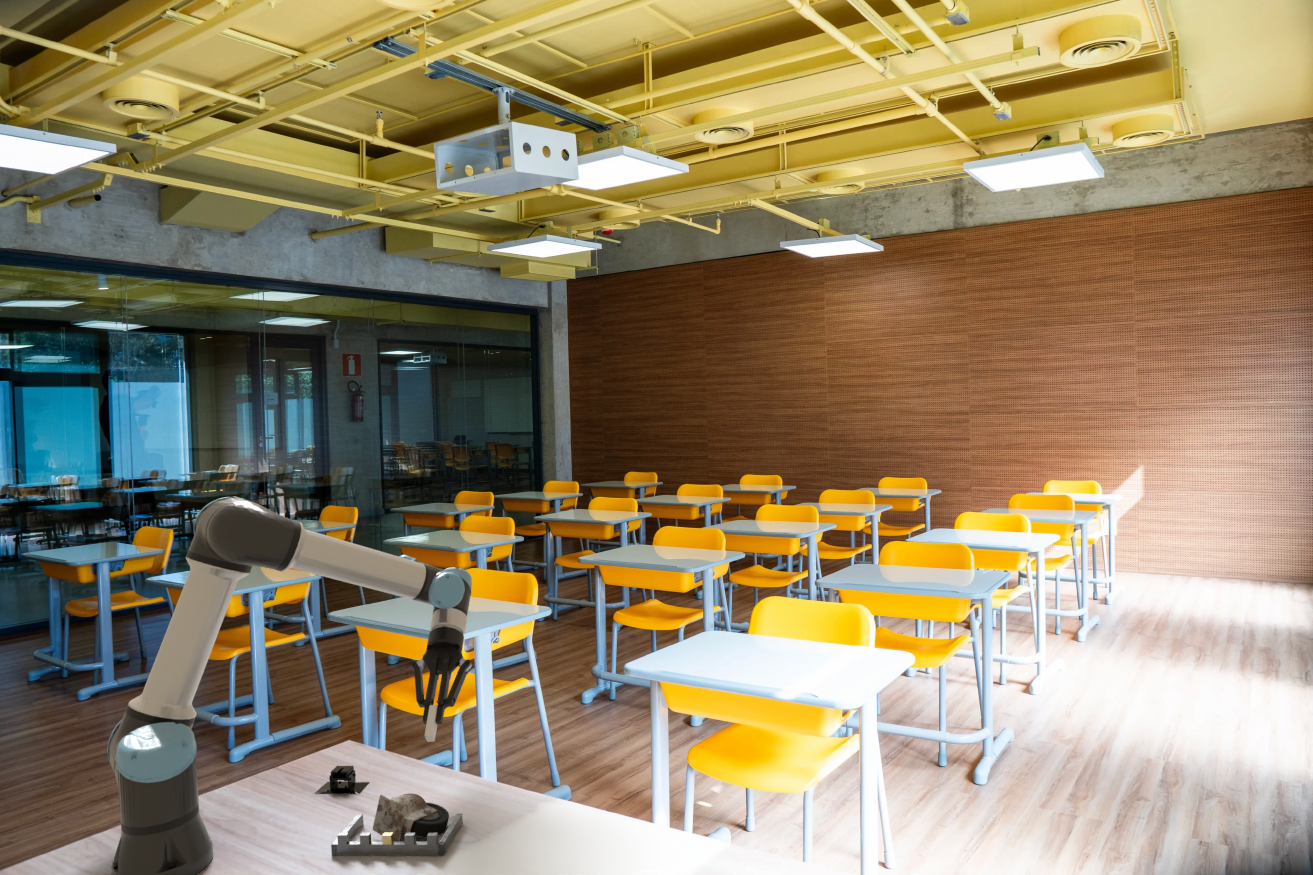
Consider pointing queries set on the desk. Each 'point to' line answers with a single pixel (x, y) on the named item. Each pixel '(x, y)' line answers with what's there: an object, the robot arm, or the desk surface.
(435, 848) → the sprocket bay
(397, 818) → the caster wheel
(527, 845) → the desk surface
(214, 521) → the robot arm
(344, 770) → the black mounting bracket
